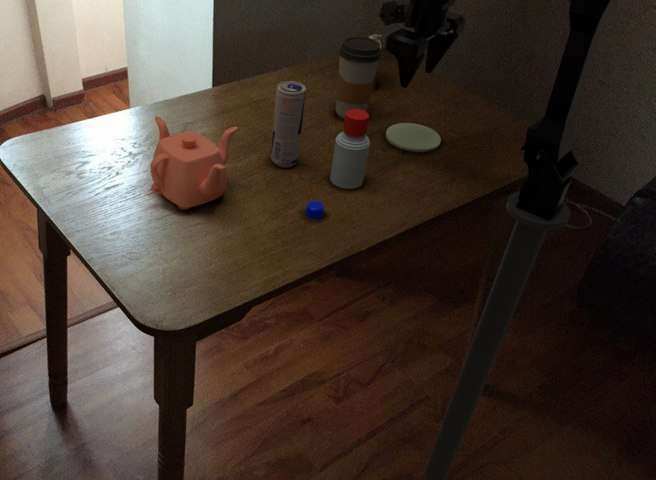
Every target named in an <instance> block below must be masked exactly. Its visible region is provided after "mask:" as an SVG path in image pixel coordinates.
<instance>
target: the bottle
mask: <svg viewBox="0 0 656 480" xmlns="http://www.w3.org/2000/svg"><path fill="white" fill-rule="evenodd" d="M370 147H371V141H370V137H368V136H367V134H365V135H364V136H362V137H351V136H348V135H346V134H345V133H344V132H343V131H342V132H340V133H338V134H337V136H336V137H335V141H334V148H333V149H334V150H333V155H332V161H331V168H330V176H329V181H330V182H331V183H332V184H333V185H334V186H336V187H338V188H341V189H345V190H346V189H347V190H353V189H358V188H360V187H361V186H362V185H363V183H364V178H365V174H366V167H367V162H368V156H369V151H370Z"/></svg>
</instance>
